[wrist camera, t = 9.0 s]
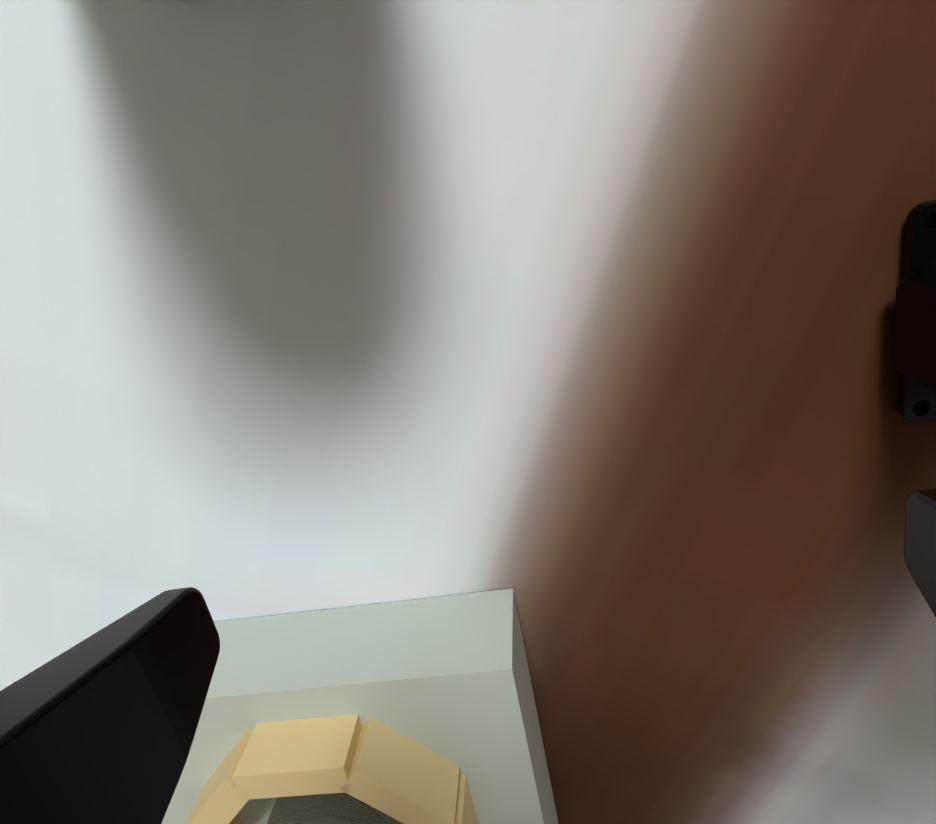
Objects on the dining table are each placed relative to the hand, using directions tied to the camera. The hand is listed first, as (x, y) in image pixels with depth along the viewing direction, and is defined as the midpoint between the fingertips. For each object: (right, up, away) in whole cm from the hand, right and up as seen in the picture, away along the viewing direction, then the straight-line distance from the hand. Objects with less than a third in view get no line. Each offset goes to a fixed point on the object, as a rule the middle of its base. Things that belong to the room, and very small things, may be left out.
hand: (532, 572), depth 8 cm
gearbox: (-6, -11, +19) cm, 23 cm away
